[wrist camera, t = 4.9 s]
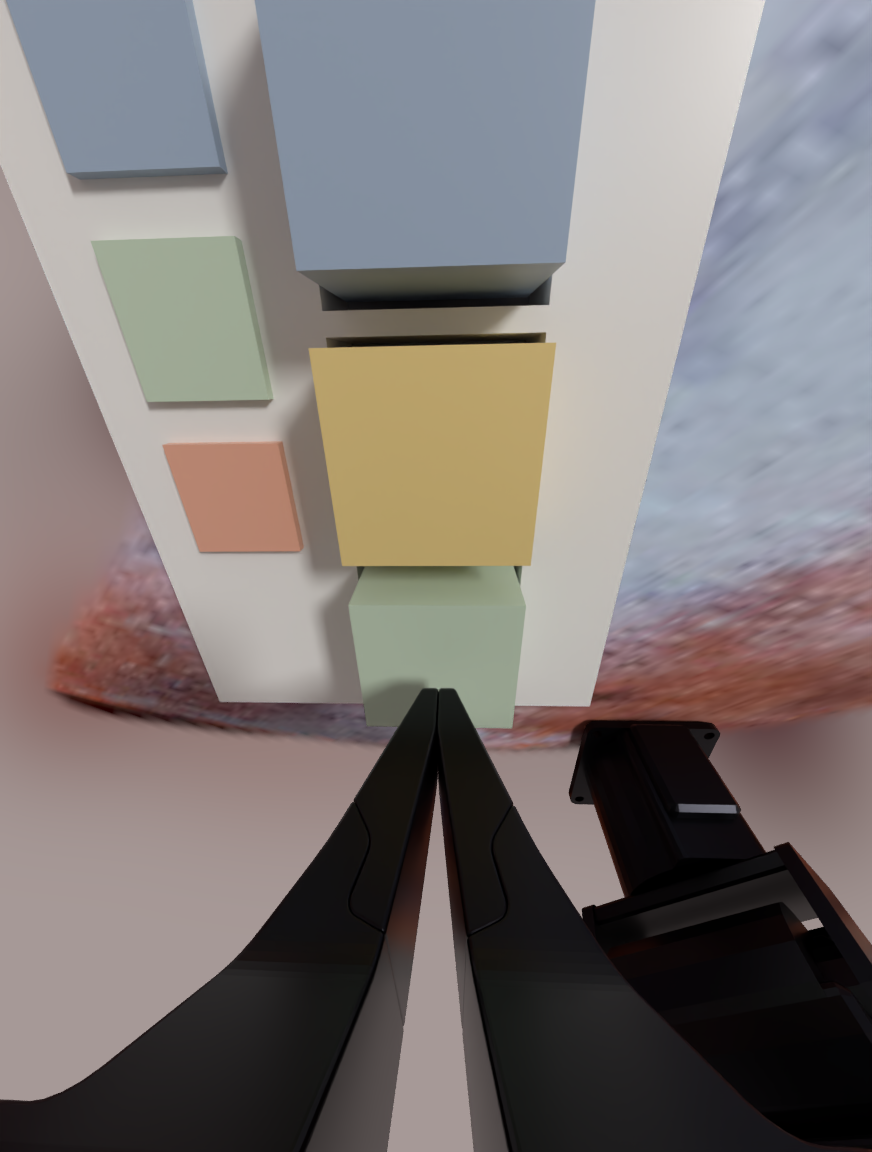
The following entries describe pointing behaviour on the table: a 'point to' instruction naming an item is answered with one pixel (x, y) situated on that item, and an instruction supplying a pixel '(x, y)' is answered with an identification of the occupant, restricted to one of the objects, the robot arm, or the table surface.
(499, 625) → the sage key
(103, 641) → the table surface
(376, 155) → the slate key
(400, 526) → the ochre key
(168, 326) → the keypad
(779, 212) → the table surface
